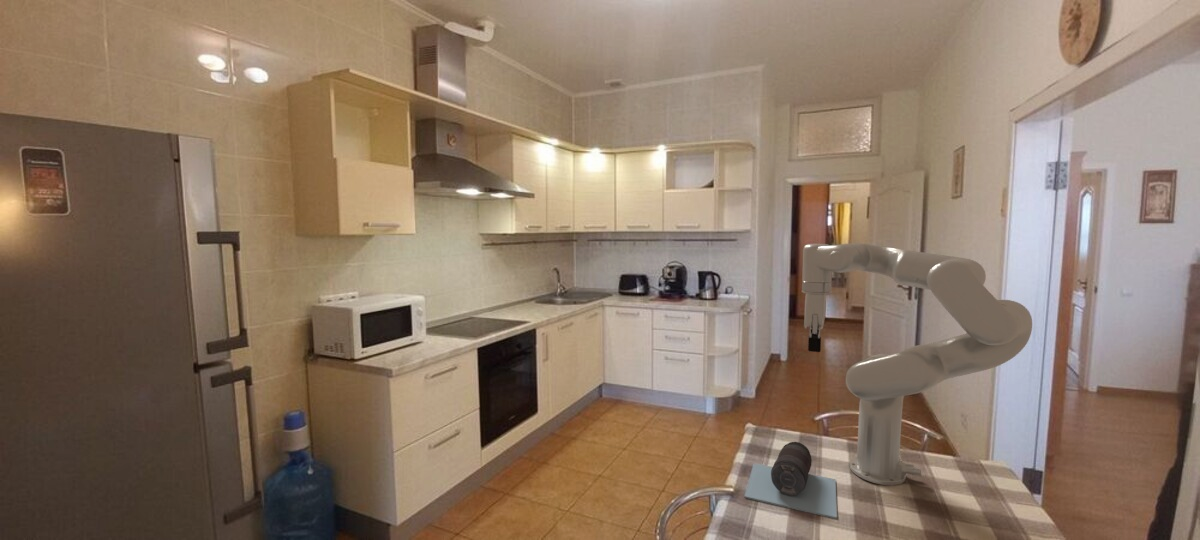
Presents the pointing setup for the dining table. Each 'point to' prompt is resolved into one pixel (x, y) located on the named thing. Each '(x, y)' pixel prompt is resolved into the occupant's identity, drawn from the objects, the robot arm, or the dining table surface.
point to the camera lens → (791, 468)
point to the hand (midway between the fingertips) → (814, 350)
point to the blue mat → (812, 499)
